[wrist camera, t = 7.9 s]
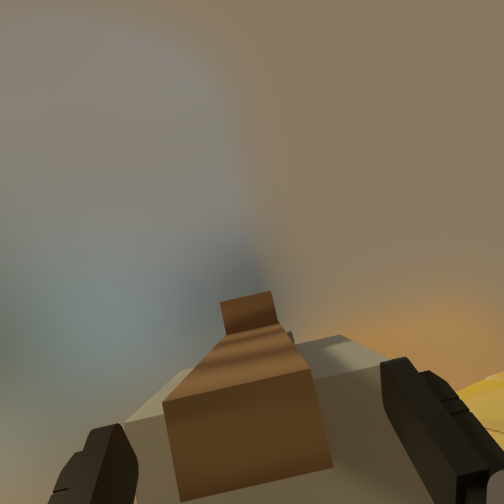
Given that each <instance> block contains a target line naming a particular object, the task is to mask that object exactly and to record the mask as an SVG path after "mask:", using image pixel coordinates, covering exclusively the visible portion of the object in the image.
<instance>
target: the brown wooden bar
mask: <svg viewBox="0 0 504 504" xmlns="http://www.w3.org/2000/svg"><path fill="white" fill-rule="evenodd" d="M220 306H221V311H222V316H223V320H224V325H225V330H226V336H224V338H223V339H222V340H221V341H220V342H219V343H218V344H217V345H216V346H215V347H214V348H213V349H212V350H211V351H210V352H209V353H208V354H207V355H206V356H205V357H204V359H203V360H202V361H201V362H200V363H199V364H198V365H197V366H196V367H195V368H194V369H193V370H192V371H191V372H190V373H189V374H188V375H187V376H186V377H185V378H184V379H183V380H182V382H181V383H180V384H179V385H178V386H177V387H176V388H175V389H174V390H173V391H172V392H171V393H170V394H169V395H168V396H167V397H166V398H165V399H164V400H163V401H162V406H163V411H164V417H165V422H166V428H167V433H168V438H169V444H170V449H171V455H172V460H173V466H174V471H175V476H176V482H177V487H178V493H179V498H180V503H181V502H185V501H190V500H194V499H198V498H203V497H207V496H211V495H216V494H220V493H225V492H229V491H233V490H238V489H242V488H247V487H251V486H255V485H260V484H264V483H269V482H273V481H277V480H282V479H286V478H291V477H295V476H299V475H304V474H308V473H312V472H317V471H321V470H326V469H330V468H334V466H333V462H332V458H331V453H330V449H329V445H328V441H327V437H326V432H325V428H324V424H323V420H322V416H321V412H320V407H319V403H318V399H317V395H316V391H315V386H314V382H313V378H312V374H311V370H310V367H309V366H308V364H307V363H306V361H305V360H304V358H303V357H302V356H301V354H300V353H299V351H298V350H297V348H296V347H295V345H294V344H293V342H292V341H291V339H290V338H289V336H288V335H287V333H286V332H285V331H284V329H283V327H282V326H281V324H280V323H279V321H278V320H277V316H276V311H275V307H274V303H273V298H272V294H271V291H267V292H263V293H259V294H254V295H250V296H246V297H241V298H237V299H232V300H228V301H224V302H220Z"/></svg>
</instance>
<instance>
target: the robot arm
mask: <svg viewBox="0 0 504 504" xmlns="http://www.w3.org/2000/svg"><path fill="white" fill-rule="evenodd" d="M380 377H381V391H382V401H383V405H384V409H385V412H386V414H387V417H388V419H389V421H390V423H391V425H392V427H393V428H394V430H395V432H396V434H397V436H398V438H399V439H400V441H401V443H402V445H403V447H404V449H405V451H406V452H407V454H408V456H409V458H410V460H411V462H412V463H413V465H414V467H415V469H416V471H417V473H418V474H419V476H420V478H421V480H422V482H423V484H424V486H425V487H426V489H427V491H428V493H429V495H430V497H431V498H432V500H433V502H434V504H504V451H503V450H502V449H501V448H500V446H499V445H498V444H497V443H496V441H495V440H494V439H493V438H492V437H491V435H490V434H489V433H488V432H487V430H486V429H485V428H484V427H483V426H482V424H481V423H480V422H479V421H478V419H477V418H476V417H475V416H474V415H473V413H472V412H470V411H469V408H468V407H467V406H466V405H465V404H464V402H463V401H462V400H460V399H459V396H458V395H457V394H456V393H455V391H454V390H453V389H452V388H451V386H450V385H449V384H448V383H447V382H446V381H445V380H443V379H442V378H440V377H439V376H437V375H436V374H434V373H432V372H431V371H429V370H428V371H424V372H420V373H418V371H417V370H416V369H415V367H414V366H413V365H412V363H411V362H410V360H409V359H408V358H406V357H401V358H396V359H392V360H388V361H383V362H381V363H380ZM138 477H139V465H138V460H137V456H136V454H135V452H134V450H133V448H132V446H131V444H130V442H129V440H128V438H127V436H126V434H125V432H124V430H123V428H122V426H121V425H120V424H118V423H117V424H113V425H109V426H105V427H100V428H95V429H93V430H91V431H90V433H89V435H88V437H87V440H86V443H85V446H84V448H83V451H80V452H76V453H74V455H73V456H72V457H71V459H70V460H69V461H68V463H67V464H66V465H65V467H64V468H63V469H62V471H61V473H60V475H59V477H58V480H57V482H56V485H55V488H54V490H53V495H51V497H50V500H49V502H48V504H133V503H134V498H135V493H136V488H137V483H138Z"/></svg>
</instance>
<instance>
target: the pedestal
mask: <svg viewBox="0 0 504 504" xmlns="http://www.w3.org/2000/svg"><path fill="white" fill-rule="evenodd" d="M286 333H287V335H288V336H289V338H290V339H291V341H292V342H293V344H294V339H293V335H292V332H291V331H286ZM294 345H295V344H294ZM295 347H296V348H297V350H298V351H299V353H300V354H301V356H302V357H303V358H304V360H305V361H306V363H307V364H308V366H309V367H310V370H311V374H312V378H313V382H314V386H315V391H316V395H317V399H318V403H319V407H320V412H321V416H322V420H323V424H324V428H325V432H326V437H327V441H328V445H329V449H330V453H331V458H332V462H333V466H334V468H330V469H326V470H321V471H317V472H312V473H308V474H304V475H299V476H295V477H291V478H286V479H282V480H277V481H273V482H269V483H264V484H260V485H255V486H251V487H247V488H242V489H238V490H233V491H229V492H225V493H220V494H216V495H211V496H207V497H203V498H198V499H194V500H190V501H185V502H181V503H180V498H179V493H178V487H177V482H176V476H175V471H174V466H173V460H172V455H171V449H170V444H169V438H168V433H167V428H166V422H165V417H164V411H163V406H162V401H163V400H164V399H165V398H166V397H167V396H168V395H169V394H170V393H171V392H172V391H173V390H174V389H175V388H176V387H177V386H178V385H179V384H180V383H181V382H182V380H183V379H184V378H185V377H186V376H187V375H188V374H189V373H190V372H191V371H192V370H193V369H194V368H191V369H186V370H182V371H180V372H179V373H178V374H177V375H176V376H175V377H174V378H173V379H172V380H170V381H169V382H168V383H167V384H166V385H165V386H164V387H163V388H162V389H161V390H159V391H158V392H157V393H156V394H155V395H154V396H153V397H152V398H151V399H150V400H149V401H147V402H146V403H145V404H144V405H143V406H142V407H141V408H140V409H139V410H137V411H136V412H135V413H134V414H133V415H132V416H131V417H130V418H129V419H128V420H127V421H125V422H124V429H125V434H126V436H127V438H128V440H129V442H130V444H131V446H132V448H133V450H134V452H135V454H136V456H137V460H138V465H139V477H138V483H137V488H136V493H135V494H136V499H137V504H434V503H433V500H432V498H431V497H430V495H429V493H428V491H427V489H426V487H425V486H424V484H423V482H422V480H421V478H420V476H419V474H418V473H417V471H416V469H415V467H414V465H413V463H412V462H411V460H410V458H409V456H408V454H407V452H406V451H405V449H404V447H403V445H402V443H401V441H400V439H399V438H398V436H397V434H396V432H395V430H394V428H393V427H392V425H391V423H390V421H389V419H388V417H387V414H386V412H385V409H384V405H383V401H382V391H381V377H380V363H381V362H383V361H388V360H392V359H390V358H388V357H385V356H383V355H381V354H379V353H377V352H375V351H373V350H371V349H369V348H367V347H365V346H363V345H361V344H358V343H356V342H354V341H352V340H350V339H348V338H346V337H344V336H342V335H336V336H331V337H327V338H323V339H318V340H314V341H310V342H305V343H301V344H297V345H295Z"/></svg>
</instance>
